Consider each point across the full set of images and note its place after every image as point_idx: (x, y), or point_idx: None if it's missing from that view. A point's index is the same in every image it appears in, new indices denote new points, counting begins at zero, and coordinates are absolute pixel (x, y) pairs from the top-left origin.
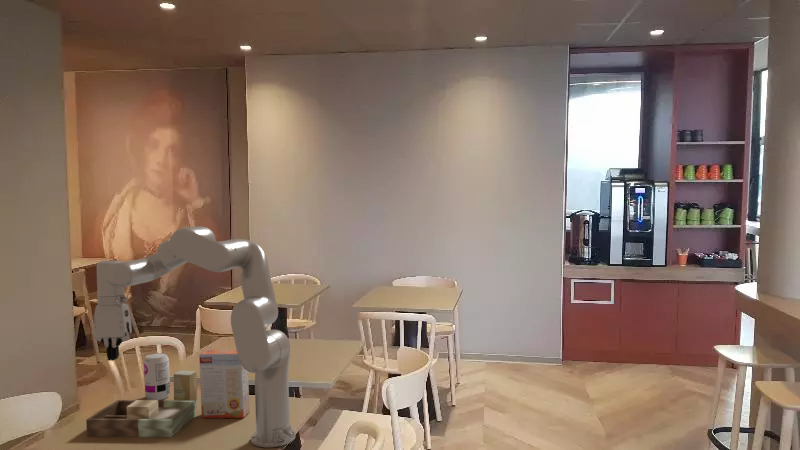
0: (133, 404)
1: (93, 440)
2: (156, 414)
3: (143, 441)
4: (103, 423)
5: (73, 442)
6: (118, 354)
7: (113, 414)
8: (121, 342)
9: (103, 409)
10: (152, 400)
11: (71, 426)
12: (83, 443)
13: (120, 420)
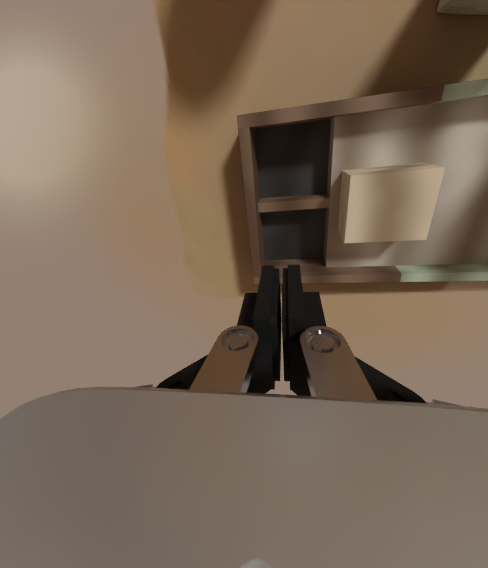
0: (359, 221)
1: None
2: None
3: (407, 283)
4: None
5: None
6: (318, 299)
7: (256, 166)
8: (381, 383)
9: (249, 213)
10: (420, 173)
11: (180, 217)
12: None
13: (346, 281)
